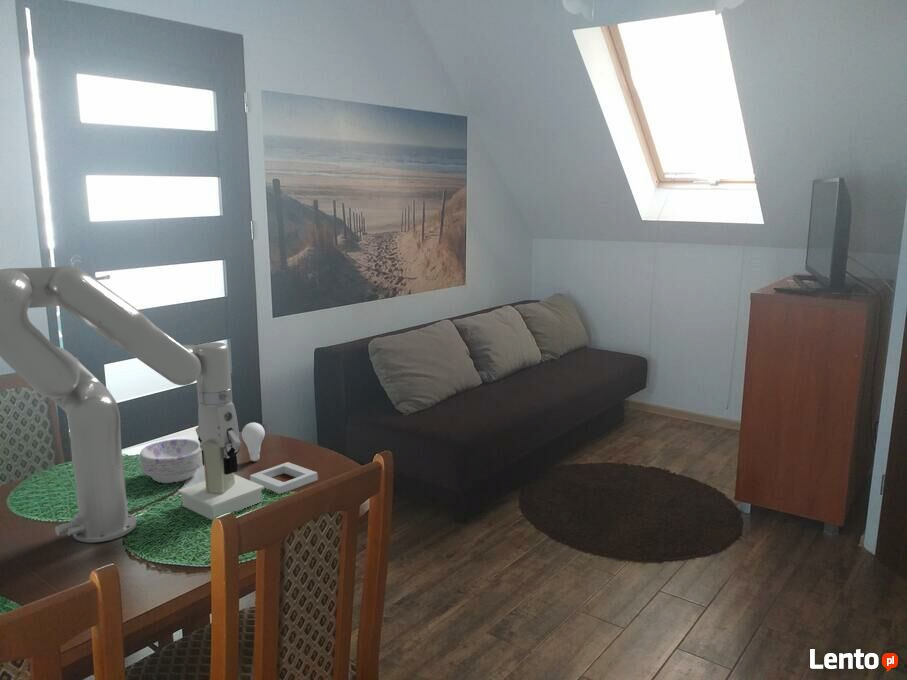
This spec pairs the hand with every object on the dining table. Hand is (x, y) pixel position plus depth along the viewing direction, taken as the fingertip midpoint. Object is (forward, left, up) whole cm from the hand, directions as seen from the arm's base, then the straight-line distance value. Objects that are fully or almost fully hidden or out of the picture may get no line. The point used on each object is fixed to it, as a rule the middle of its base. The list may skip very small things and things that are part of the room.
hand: (219, 468), depth 169 cm
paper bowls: (+2, +25, -9) cm, 27 cm away
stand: (0, 0, -9) cm, 9 cm away
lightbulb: (+22, +18, -9) cm, 30 cm away
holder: (+18, 0, -9) cm, 20 cm away
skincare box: (0, 0, -5) cm, 5 cm away
